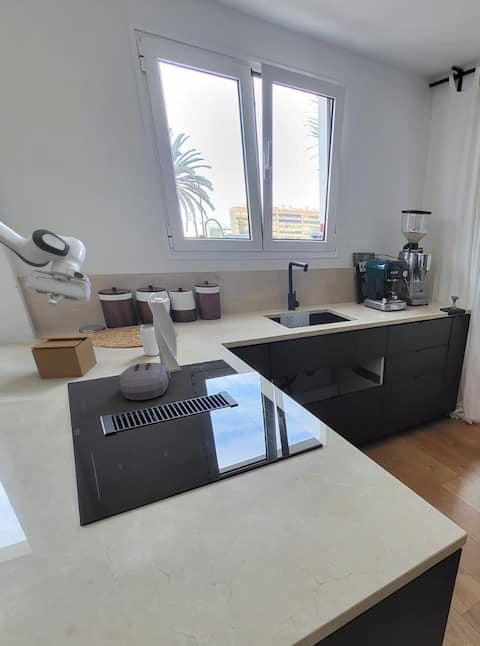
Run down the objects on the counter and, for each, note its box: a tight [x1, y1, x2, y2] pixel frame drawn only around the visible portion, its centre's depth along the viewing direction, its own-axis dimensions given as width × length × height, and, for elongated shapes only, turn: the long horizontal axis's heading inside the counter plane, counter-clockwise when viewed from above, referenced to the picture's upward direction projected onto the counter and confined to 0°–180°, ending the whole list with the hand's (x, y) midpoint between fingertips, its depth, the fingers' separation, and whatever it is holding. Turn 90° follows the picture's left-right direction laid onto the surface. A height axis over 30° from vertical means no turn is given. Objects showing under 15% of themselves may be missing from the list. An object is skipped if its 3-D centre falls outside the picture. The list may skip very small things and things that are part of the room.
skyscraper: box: [147, 292, 183, 374], centre depth 143 cm, size 8×8×28 cm
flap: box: [39, 334, 91, 341], centre depth 143 cm, size 7×13×1 cm, turn 105°
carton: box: [30, 336, 98, 380], centre depth 142 cm, size 15×13×11 cm
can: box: [139, 323, 159, 357], centre depth 162 cm, size 6×6×12 cm
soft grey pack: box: [118, 362, 172, 401], centre depth 128 cm, size 15×8×20 cm
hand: (52, 305), depth 148 cm, fingers closed
